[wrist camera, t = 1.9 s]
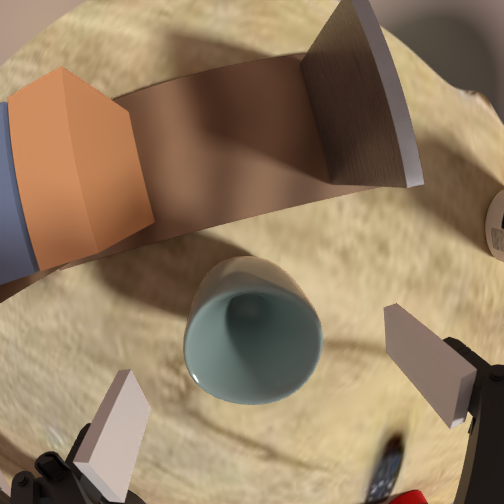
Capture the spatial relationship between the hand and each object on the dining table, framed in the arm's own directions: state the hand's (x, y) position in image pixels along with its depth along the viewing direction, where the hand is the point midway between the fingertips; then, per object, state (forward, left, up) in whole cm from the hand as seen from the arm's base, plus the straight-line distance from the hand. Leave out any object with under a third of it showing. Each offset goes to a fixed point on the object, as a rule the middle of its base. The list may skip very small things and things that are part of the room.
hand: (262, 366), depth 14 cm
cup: (0, 0, -12) cm, 12 cm away
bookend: (+12, +12, -10) cm, 20 cm away
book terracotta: (-7, +12, -11) cm, 17 cm away
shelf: (0, +12, -12) cm, 17 cm away
